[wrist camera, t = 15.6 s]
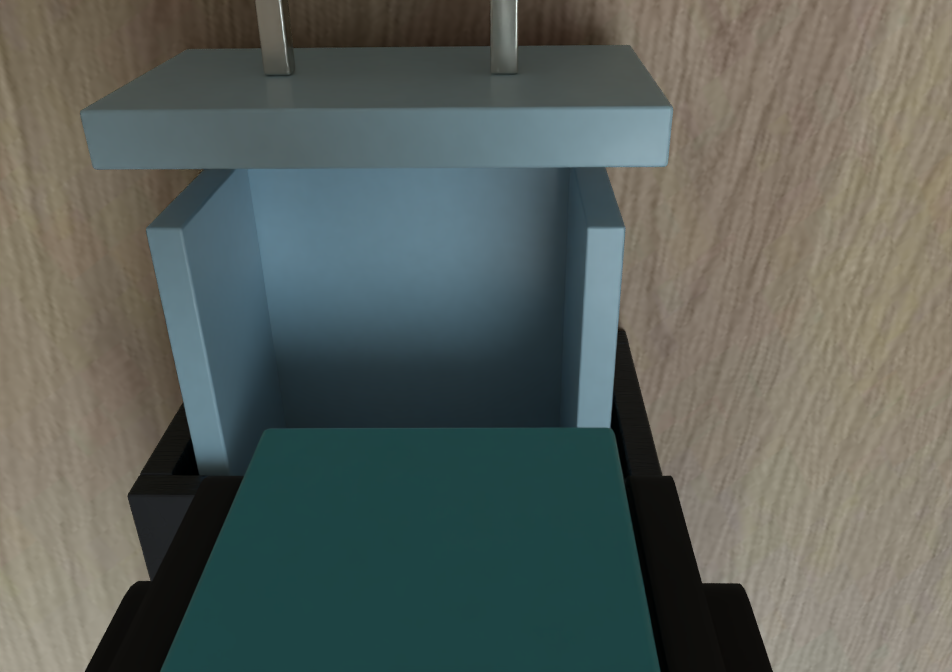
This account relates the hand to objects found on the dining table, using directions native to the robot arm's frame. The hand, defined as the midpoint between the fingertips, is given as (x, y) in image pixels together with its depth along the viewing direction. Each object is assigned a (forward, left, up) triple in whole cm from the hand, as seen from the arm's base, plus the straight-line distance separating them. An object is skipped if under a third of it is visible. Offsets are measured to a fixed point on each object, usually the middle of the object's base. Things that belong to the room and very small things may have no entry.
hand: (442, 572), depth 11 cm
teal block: (0, 0, 0) cm, 0 cm away
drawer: (-1, -1, -14) cm, 15 cm away
